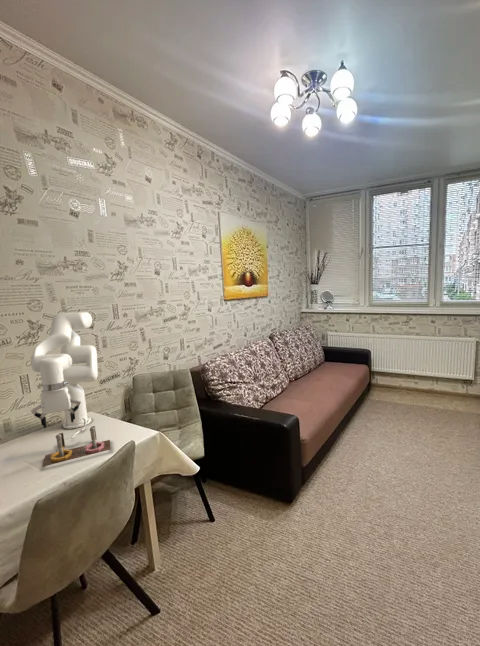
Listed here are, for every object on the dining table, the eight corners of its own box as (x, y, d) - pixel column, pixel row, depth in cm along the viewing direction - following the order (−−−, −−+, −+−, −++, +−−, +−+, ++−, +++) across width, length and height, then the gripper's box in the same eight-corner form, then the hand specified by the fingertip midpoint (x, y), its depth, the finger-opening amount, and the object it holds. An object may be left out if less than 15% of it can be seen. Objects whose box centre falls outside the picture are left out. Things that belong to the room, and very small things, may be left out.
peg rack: (45, 458, 132) (41, 433, 130) (110, 442, 144) (107, 419, 142) (42, 470, 123) (38, 443, 121) (111, 452, 136) (108, 428, 134)
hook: (96, 425, 160) (76, 451, 141) (76, 426, 159) (54, 452, 140) (93, 413, 158) (72, 438, 139) (73, 414, 157) (50, 439, 138)
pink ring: (85, 442, 142) (83, 428, 140) (103, 438, 145) (101, 424, 144) (84, 454, 132) (82, 439, 131) (104, 449, 136) (102, 434, 134)
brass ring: (53, 449, 135) (50, 435, 134) (73, 445, 139) (70, 430, 138) (49, 463, 126) (47, 447, 124) (71, 457, 129) (69, 442, 128)
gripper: (78, 380, 139) (83, 416, 142) (29, 387, 130) (35, 425, 133) (77, 385, 133) (82, 422, 136) (26, 392, 124) (32, 432, 127)
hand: (59, 423), depth 134 cm, fingers open, 9 cm apart
